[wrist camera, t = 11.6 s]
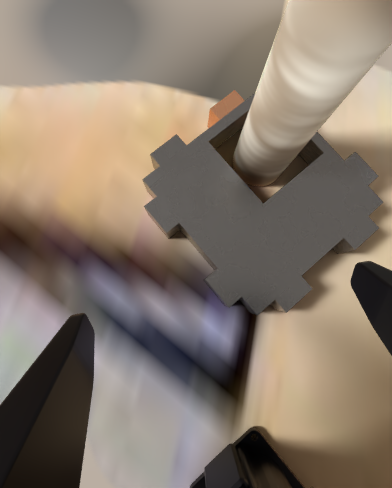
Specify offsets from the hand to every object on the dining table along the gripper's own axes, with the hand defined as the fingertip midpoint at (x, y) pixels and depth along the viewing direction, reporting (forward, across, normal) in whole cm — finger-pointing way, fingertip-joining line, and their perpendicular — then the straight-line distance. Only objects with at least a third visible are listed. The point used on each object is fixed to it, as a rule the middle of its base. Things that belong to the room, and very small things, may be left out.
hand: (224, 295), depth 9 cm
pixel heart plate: (+14, -6, +5) cm, 16 cm away
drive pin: (+17, -7, +3) cm, 18 cm away
